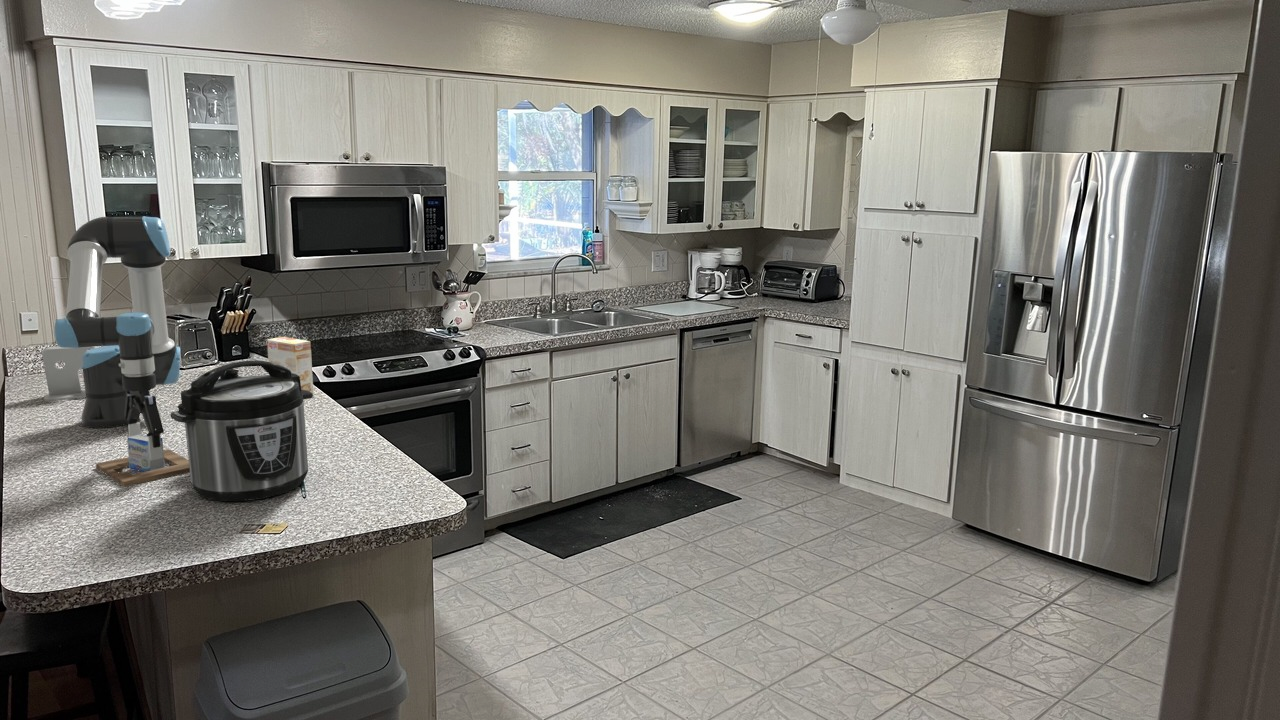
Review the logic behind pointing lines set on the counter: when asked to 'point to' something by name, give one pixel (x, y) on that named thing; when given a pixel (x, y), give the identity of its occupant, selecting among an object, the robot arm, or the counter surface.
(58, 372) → the phone holder
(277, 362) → the coffeecake box
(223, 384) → the pressure cooker
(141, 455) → the medicine box
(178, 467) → the walnut pocket plate
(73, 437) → the counter surface
